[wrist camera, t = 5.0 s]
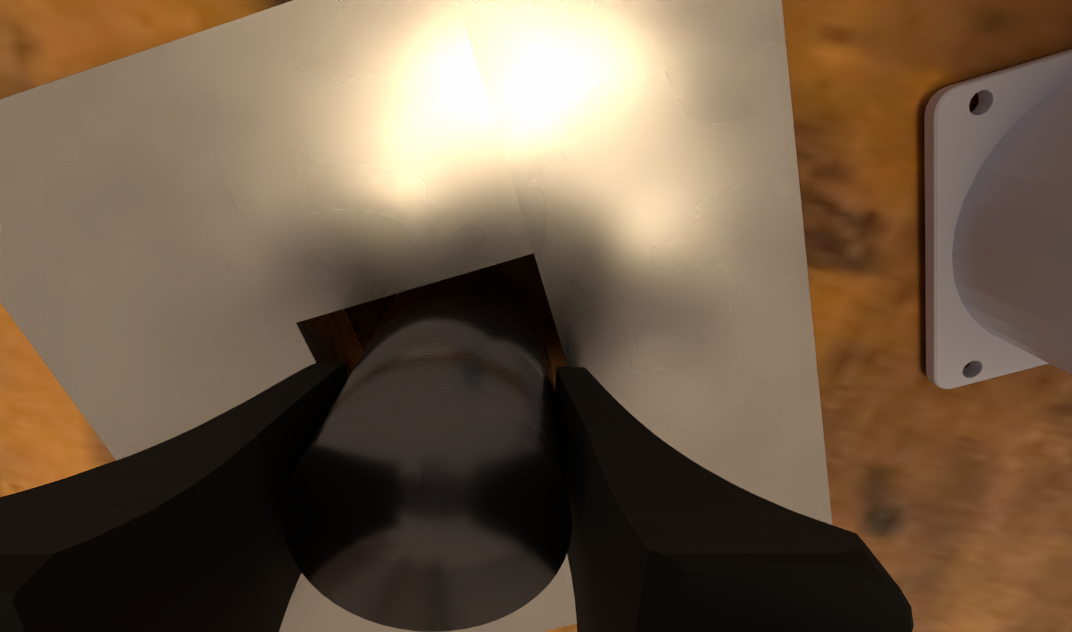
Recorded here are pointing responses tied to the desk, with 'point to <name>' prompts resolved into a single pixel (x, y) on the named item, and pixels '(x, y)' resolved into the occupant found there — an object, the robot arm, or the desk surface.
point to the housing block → (428, 218)
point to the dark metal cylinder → (438, 465)
